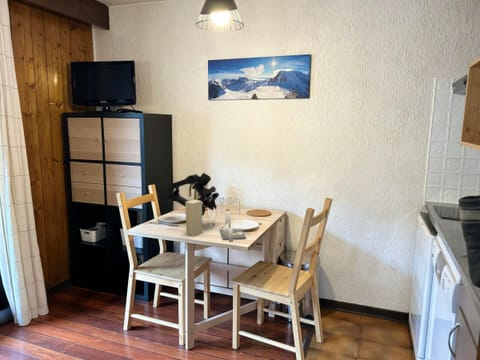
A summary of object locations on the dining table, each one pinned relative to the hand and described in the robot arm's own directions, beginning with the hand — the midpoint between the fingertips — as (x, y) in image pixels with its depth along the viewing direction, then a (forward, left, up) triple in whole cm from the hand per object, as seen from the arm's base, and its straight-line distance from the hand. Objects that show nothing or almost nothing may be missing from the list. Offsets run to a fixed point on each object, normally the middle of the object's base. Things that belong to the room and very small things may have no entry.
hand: (214, 209), depth 225 cm
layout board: (+13, +10, -14) cm, 21 cm away
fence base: (+19, +6, -14) cm, 24 cm away
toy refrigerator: (+6, -14, -14) cm, 20 cm away
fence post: (+10, +7, -12) cm, 17 cm away
